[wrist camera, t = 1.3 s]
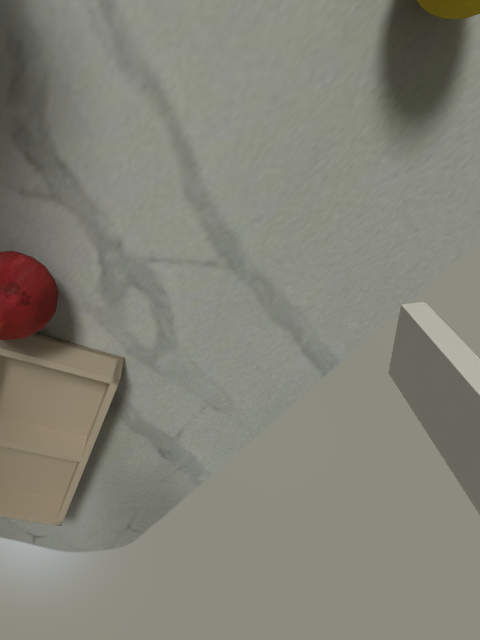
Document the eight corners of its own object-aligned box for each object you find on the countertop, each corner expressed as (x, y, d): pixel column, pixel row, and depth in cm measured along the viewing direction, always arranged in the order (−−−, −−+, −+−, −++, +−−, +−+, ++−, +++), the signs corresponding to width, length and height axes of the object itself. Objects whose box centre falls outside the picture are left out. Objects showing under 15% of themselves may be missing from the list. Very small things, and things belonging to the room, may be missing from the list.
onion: (-28, 239, 30) (-89, 292, 24) (55, 231, 31) (19, 281, 24) (2, 310, 33) (-45, 374, 27) (77, 302, 34) (50, 364, 27)
